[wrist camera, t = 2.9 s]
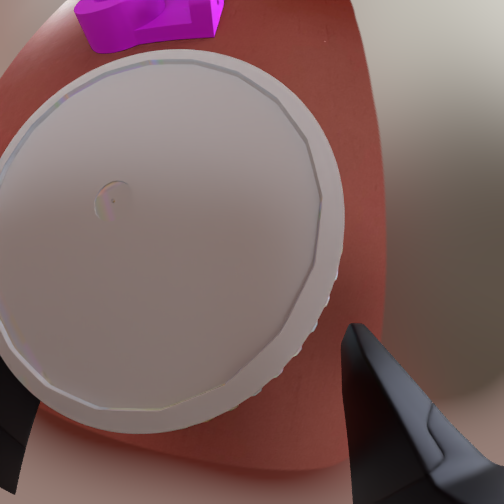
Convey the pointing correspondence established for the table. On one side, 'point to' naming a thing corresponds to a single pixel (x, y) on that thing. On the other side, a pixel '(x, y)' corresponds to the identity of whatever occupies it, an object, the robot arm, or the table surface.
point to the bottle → (164, 240)
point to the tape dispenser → (145, 21)
